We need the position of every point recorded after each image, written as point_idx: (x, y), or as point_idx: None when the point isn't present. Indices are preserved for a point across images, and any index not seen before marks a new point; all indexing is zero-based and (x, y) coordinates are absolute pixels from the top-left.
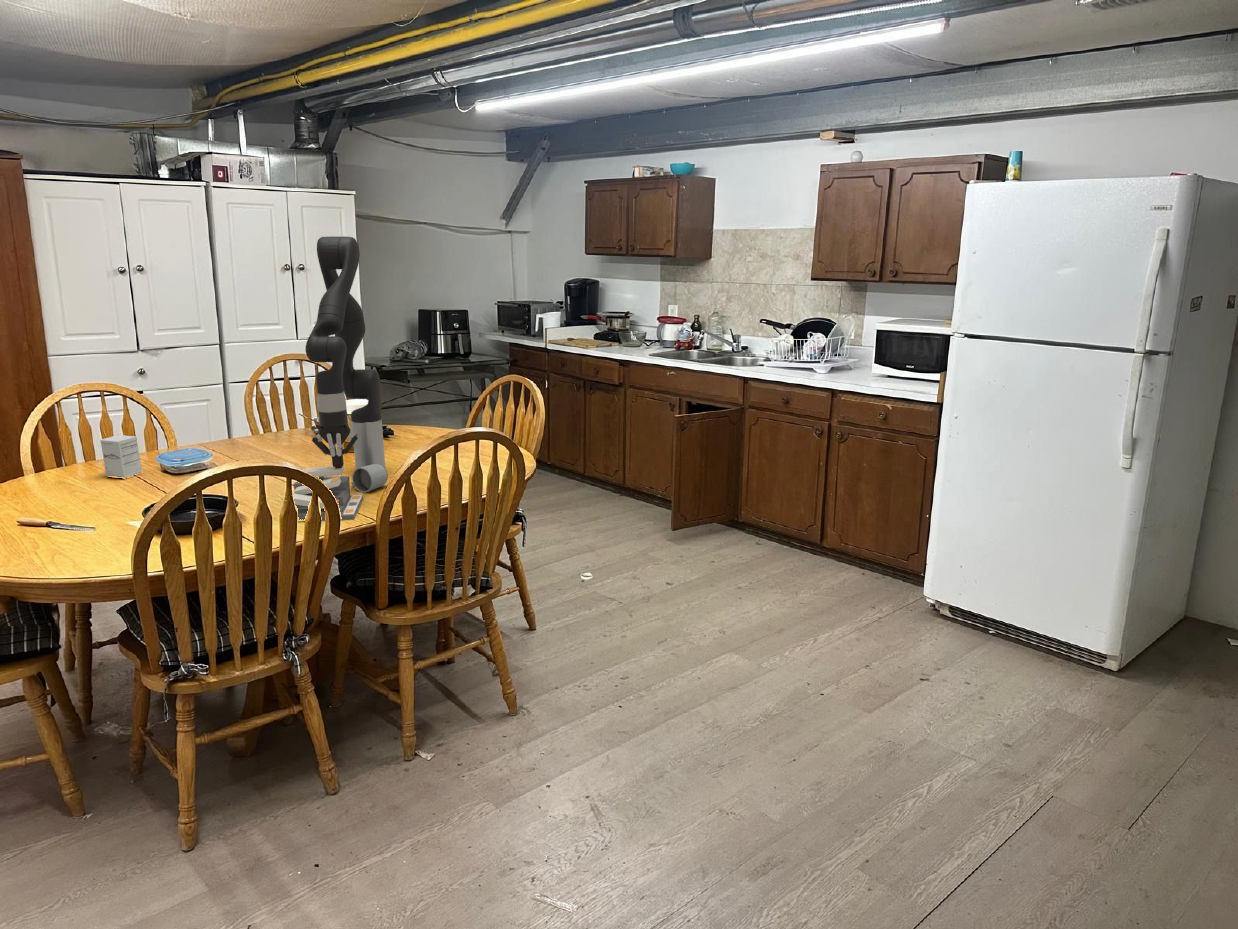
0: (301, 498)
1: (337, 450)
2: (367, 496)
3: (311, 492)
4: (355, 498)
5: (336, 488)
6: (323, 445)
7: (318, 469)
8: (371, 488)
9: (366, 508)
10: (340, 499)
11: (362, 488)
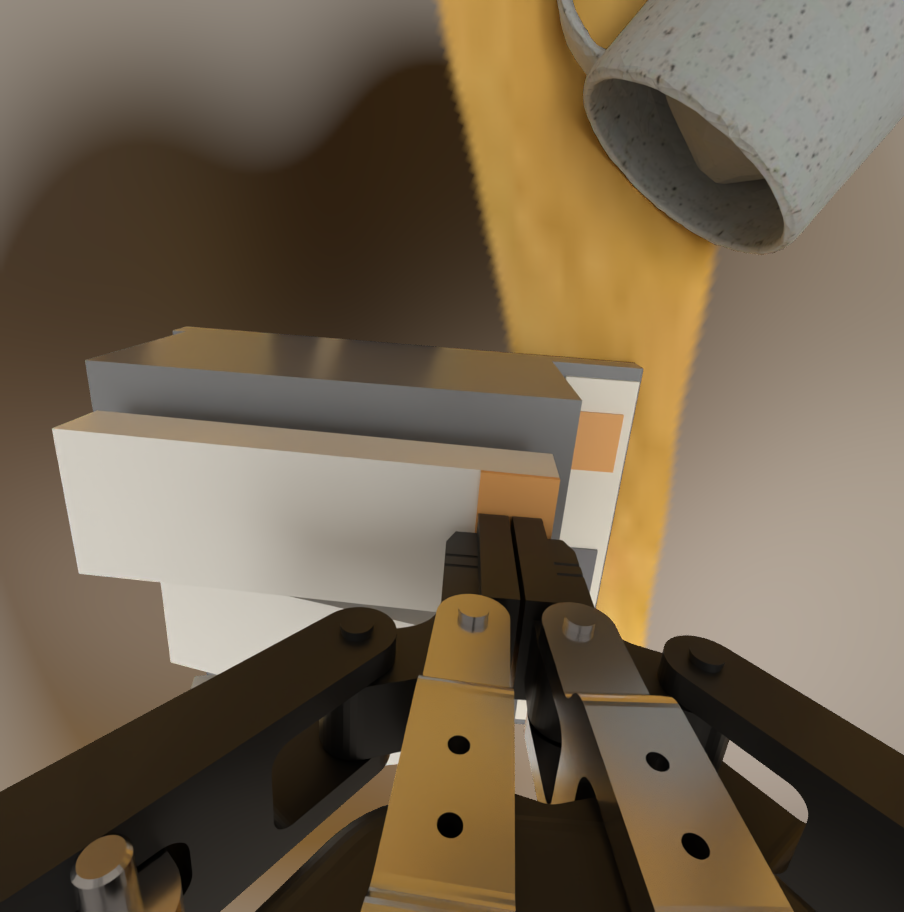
0: None
1: (542, 790)
2: (666, 309)
3: None
4: (588, 469)
5: None
6: (271, 825)
7: (281, 529)
8: (725, 233)
9: (641, 560)
10: None
11: (645, 114)
